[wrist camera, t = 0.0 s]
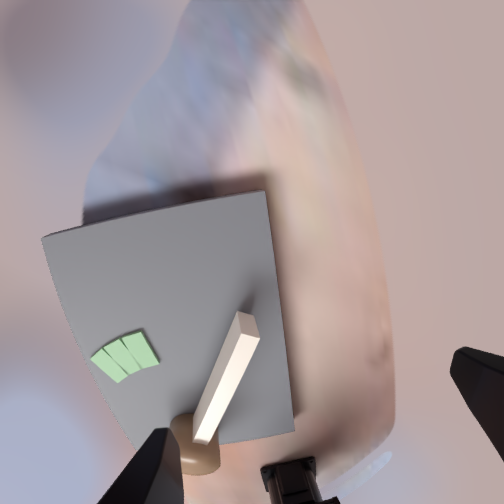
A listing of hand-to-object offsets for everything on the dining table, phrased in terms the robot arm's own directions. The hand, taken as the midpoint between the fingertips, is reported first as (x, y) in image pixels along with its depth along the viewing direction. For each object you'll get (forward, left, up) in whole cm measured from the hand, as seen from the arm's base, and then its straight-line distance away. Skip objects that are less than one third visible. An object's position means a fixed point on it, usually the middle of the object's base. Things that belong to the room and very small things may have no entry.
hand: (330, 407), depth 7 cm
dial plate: (-6, +7, -15) cm, 17 cm away
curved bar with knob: (-10, +5, -13) cm, 17 cm away
